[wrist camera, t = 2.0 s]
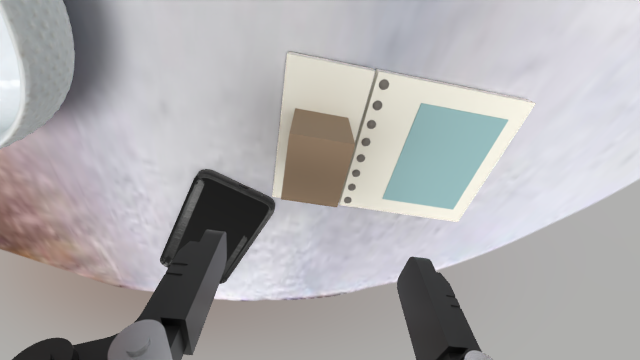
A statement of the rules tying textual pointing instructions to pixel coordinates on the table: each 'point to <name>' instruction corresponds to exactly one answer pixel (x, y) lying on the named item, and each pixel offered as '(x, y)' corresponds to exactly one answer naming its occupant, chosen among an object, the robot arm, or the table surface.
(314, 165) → the brown cream block
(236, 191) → the phone
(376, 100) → the ticket pad
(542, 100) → the table surface
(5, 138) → the cereal bowl
